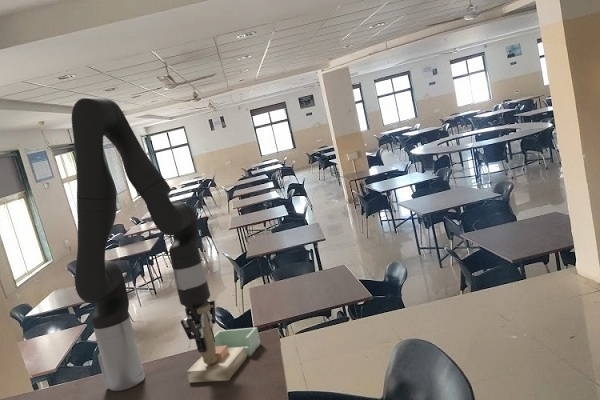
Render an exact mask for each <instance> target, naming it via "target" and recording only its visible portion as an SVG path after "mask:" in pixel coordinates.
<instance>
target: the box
mask: <svg viewBox="0 0 600 400" xmlns="http://www.w3.org/2000/svg"><path fill="white" fill-rule="evenodd" d="M259 334H260V333H259V331H258V327H257V326H256V327H255V326H254V327H247V328H246V327H244V328H235V329H234V328H233V329H225V330H218V331H217V332H216V333H215V334H214V338H215V347H216V346H226V345H227V347H228V348H237V347H245V351H246V355H247V358H248V357H252V356H253V355H254V353H255V352H256V351H257V349H258V348H260V345H262V343H261V339H260V335H259Z"/></svg>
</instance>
